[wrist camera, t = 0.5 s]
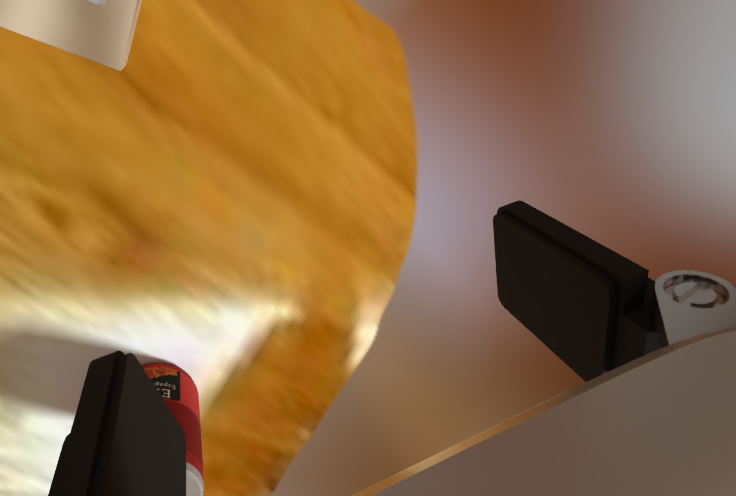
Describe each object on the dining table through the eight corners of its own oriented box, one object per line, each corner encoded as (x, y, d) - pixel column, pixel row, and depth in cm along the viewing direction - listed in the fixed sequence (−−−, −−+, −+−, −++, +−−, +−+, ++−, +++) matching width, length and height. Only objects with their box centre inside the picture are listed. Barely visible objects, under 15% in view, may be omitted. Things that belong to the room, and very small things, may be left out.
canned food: (178, 347, 39) (179, 447, 30) (211, 406, 44) (220, 510, 34) (87, 382, 38) (58, 499, 29) (129, 440, 42) (116, 558, 33)
